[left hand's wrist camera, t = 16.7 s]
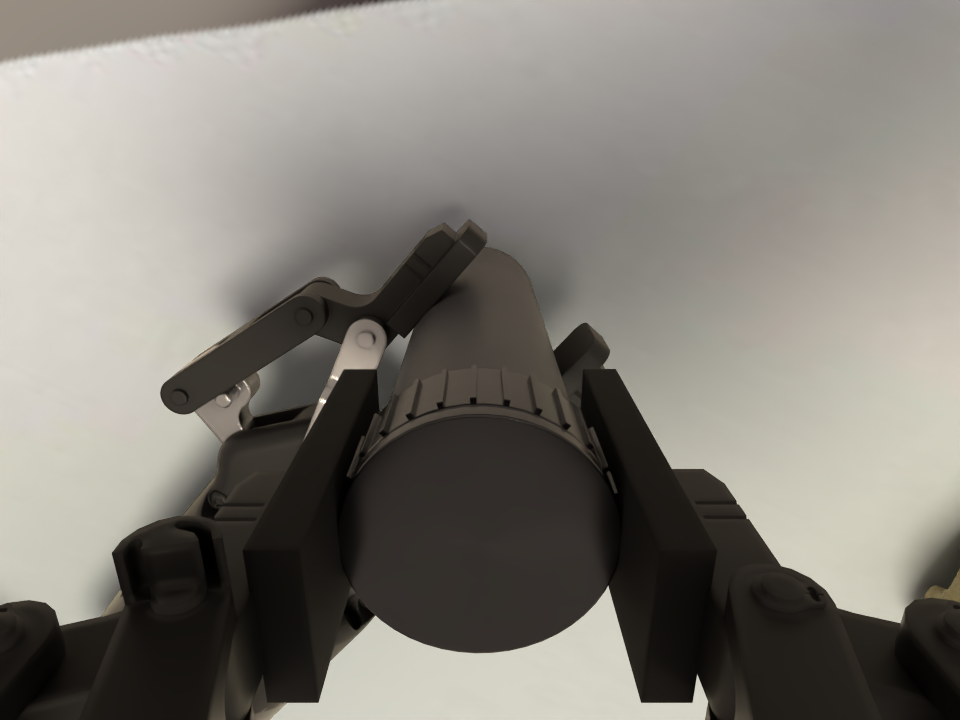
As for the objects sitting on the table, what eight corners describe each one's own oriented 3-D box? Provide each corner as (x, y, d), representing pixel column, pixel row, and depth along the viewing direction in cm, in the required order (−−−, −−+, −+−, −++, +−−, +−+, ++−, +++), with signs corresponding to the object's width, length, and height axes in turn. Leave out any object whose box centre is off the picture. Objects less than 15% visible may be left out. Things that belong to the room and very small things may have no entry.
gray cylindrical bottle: (554, 285, 25) (650, 489, 11) (493, 368, 26) (510, 649, 12) (464, 224, 24) (441, 361, 10) (406, 314, 25) (314, 547, 11)
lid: (388, 330, 11) (369, 373, 9) (642, 403, 12) (674, 458, 10) (331, 546, 13) (305, 621, 11) (555, 601, 13) (568, 682, 11)
